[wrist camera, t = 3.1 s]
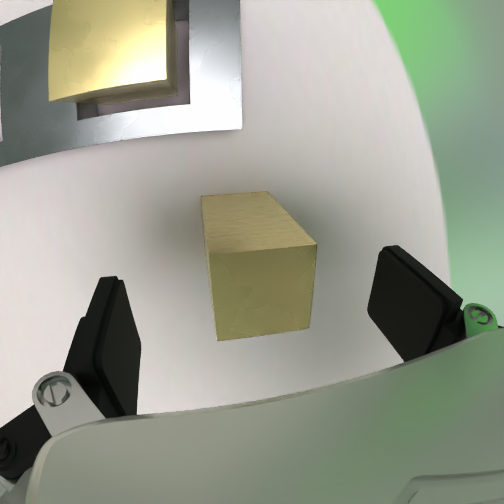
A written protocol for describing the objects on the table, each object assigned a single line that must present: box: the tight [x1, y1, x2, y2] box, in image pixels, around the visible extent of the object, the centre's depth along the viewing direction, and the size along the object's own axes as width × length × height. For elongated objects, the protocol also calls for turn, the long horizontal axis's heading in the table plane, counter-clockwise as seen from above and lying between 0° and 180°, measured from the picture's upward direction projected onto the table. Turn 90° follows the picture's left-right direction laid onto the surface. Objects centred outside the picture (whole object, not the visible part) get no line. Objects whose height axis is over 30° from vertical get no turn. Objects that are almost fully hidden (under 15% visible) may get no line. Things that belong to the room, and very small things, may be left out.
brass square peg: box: [201, 191, 317, 341], centre depth 16 cm, size 4×4×8 cm
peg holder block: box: [0, 0, 242, 167], centre depth 10 cm, size 20×8×8 cm, turn 91°
